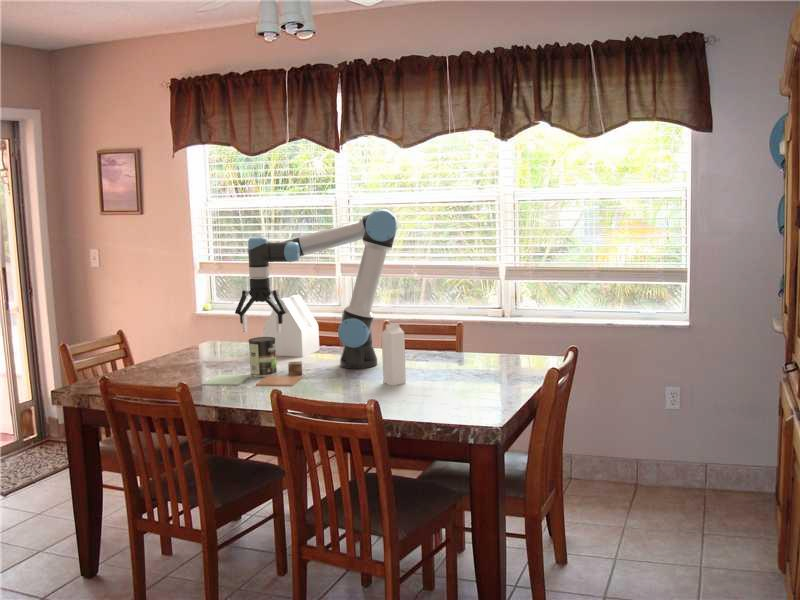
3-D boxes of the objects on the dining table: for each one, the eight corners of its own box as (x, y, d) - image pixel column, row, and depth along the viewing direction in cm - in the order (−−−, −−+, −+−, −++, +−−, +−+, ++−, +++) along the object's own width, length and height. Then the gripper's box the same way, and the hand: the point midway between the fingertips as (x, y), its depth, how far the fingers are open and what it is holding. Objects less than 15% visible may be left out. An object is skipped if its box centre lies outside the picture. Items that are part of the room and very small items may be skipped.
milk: (405, 383, 286) (404, 323, 283) (392, 386, 282) (391, 325, 279) (396, 380, 291) (394, 321, 288) (382, 382, 287) (381, 323, 284)
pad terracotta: (303, 377, 301) (303, 375, 300) (292, 386, 287) (292, 384, 287) (268, 376, 303) (268, 375, 303) (255, 385, 289) (255, 384, 289)
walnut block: (302, 373, 307) (301, 361, 306) (301, 376, 302) (301, 363, 301) (289, 374, 306) (288, 361, 306) (288, 377, 302) (288, 364, 301)
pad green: (251, 376, 304) (250, 375, 304) (237, 385, 290) (237, 383, 290) (216, 376, 306) (216, 374, 306) (202, 385, 293) (202, 383, 293)
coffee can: (280, 371, 312) (279, 336, 310) (271, 377, 302) (269, 341, 300) (256, 371, 314) (254, 336, 312) (246, 377, 304) (244, 341, 302)
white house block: (319, 350, 353) (316, 295, 350) (302, 357, 339) (299, 299, 336) (282, 348, 360) (279, 294, 357) (264, 354, 346) (261, 298, 343)
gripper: (293, 276, 304) (295, 330, 307) (232, 276, 308) (235, 329, 311) (287, 278, 296) (289, 333, 299) (225, 278, 301) (227, 333, 303)
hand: (261, 332), depth 305 cm, fingers open, 13 cm apart
